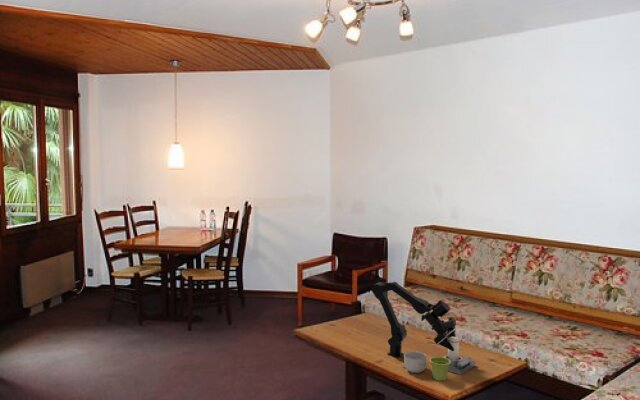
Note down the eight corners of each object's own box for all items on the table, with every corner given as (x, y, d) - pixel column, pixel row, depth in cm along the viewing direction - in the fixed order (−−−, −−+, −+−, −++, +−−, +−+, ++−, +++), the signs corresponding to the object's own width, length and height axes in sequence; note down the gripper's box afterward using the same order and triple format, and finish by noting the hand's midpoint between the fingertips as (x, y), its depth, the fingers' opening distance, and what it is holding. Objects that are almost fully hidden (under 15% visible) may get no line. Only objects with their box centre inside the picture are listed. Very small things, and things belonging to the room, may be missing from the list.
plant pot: (452, 377, 256) (453, 359, 255) (445, 384, 248) (446, 365, 248) (433, 373, 261) (434, 355, 260) (426, 379, 253) (427, 361, 253)
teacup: (421, 376, 256) (421, 360, 256) (399, 371, 262) (400, 355, 262) (431, 367, 268) (432, 351, 268) (411, 363, 274) (411, 347, 273)
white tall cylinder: (452, 364, 267) (453, 340, 266) (445, 361, 272) (446, 337, 271) (460, 362, 270) (461, 339, 269) (453, 359, 274) (454, 336, 274)
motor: (460, 374, 260) (460, 364, 259) (436, 367, 268) (436, 357, 268) (475, 365, 272) (475, 355, 271) (451, 359, 280) (451, 349, 280)
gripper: (441, 317, 263) (463, 343, 258) (452, 308, 279) (473, 333, 274) (425, 330, 267) (446, 357, 263) (436, 321, 284) (457, 346, 279)
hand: (456, 347), depth 270 cm, fingers open, 9 cm apart
